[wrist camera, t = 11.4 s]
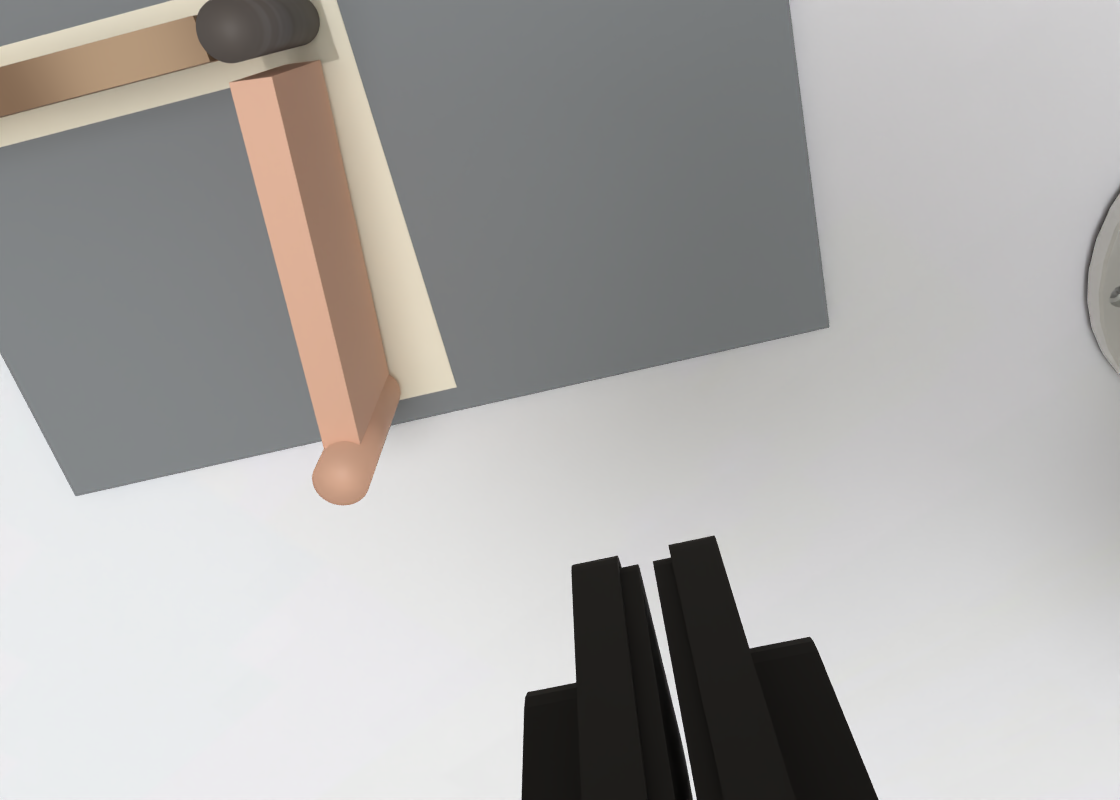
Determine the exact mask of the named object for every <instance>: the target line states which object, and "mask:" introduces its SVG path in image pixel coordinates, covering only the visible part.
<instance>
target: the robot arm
mask: <svg viewBox="0 0 1120 800" xmlns="http://www.w3.org/2000/svg"><path fill="white" fill-rule="evenodd" d="M1087 303H1088V309H1089V315H1090V321H1091V327H1092V330H1093V332H1094V335H1095V337H1096V340H1097V342H1098V344H1099V347H1100V349H1101V351H1102V353H1103V355H1104V356H1105V357H1106V359H1107V360H1108V361H1109V363H1110V364H1111V365H1112V367H1113V368H1114V369H1115V371H1116V372H1117V373H1118V374H1119V375H1120V193H1119V195H1118V197H1117V198H1116V200H1115V201H1114V203H1113V204H1112V206H1111V207H1110V210H1109V212H1108V214H1107V216H1106V219H1105V221H1104V223H1103V225H1102V228H1101V230H1100V232H1099V234H1098V237H1097V239H1096V243H1095V247H1094V251H1093V255H1092V259H1091V263H1090V267H1089V273H1088V293H1087ZM669 550H670V554H671V558H667V559H662V560H657V561H653V565H654V570H655V576H656V581H657V587H658V592H659V597H660V603H661V608H662V614H663V619H664V624H665V630H666V635H667V641H668V646H669V651H670V657H671V662H672V668H673V673H674V678H675V684H676V689H677V695H678V700H679V705H680V711H681V716H682V722H683V727H684V732H685V738H686V743H687V749H688V754H689V759H690V765H691V770H692V776H693V781H694V786H695V792H696V797H697V800H878V798H877V795H876V793H875V790H874V788H873V785H872V783H871V780H870V778H869V775H868V773H867V770H866V768H865V766H864V763H863V761H862V758H861V756H860V753H859V751H858V748H857V746H856V743H855V741H854V739H853V736H852V734H851V731H850V729H849V726H848V724H847V721H846V719H845V716H844V714H843V711H842V709H841V707H840V704H839V702H838V699H837V697H836V694H835V692H834V689H833V687H832V684H831V682H830V680H829V677H828V675H827V672H826V670H825V667H824V665H823V662H822V660H821V657H820V655H819V652H818V650H817V648H816V646H815V644H814V642H813V640H812V639H811V638H810V637H806V638H801V639H796V640H791V641H786V642H781V643H776V644H771V645H766V646H760V647H755V648H750V649H749V646H748V643H747V639H746V636H745V633H744V629H743V626H742V623H741V620H740V616H739V613H738V610H737V607H736V603H735V600H734V597H733V593H732V590H731V587H730V584H729V580H728V577H727V574H726V571H725V567H724V564H723V561H722V557H721V554H720V551H719V548H718V544H717V541H716V538H715V536H710V537H705V538H701V539H696V540H691V541H686V542H681V543H676V544H672V545H669ZM572 594H573V617H574V640H575V662H576V683H572V684H567V685H562V686H557V687H552V688H547V689H542V690H537V691H532V692H528V693H527V695H526V697H525V706H524V736H523V770H522V800H693V798H692V793H691V787H690V781H689V776H688V770H687V765H686V760H685V755H684V750H683V746H682V741H681V737H680V733H679V728H678V724H677V720H676V716H675V712H674V708H673V704H672V700H671V695H670V691H669V687H668V683H667V679H666V675H665V671H664V667H663V663H662V658H661V654H660V650H659V646H658V642H657V638H656V634H655V630H654V625H653V621H652V617H651V613H650V609H649V605H648V601H647V597H646V592H645V588H644V584H643V580H642V576H641V572H640V568H639V565H633V566H628V567H623V568H621V564H620V561H619V558H618V556H614V557H609V558H604V559H599V560H595V561H590V562H585V563H580V564H575V565H572Z"/></svg>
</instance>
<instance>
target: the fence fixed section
mask: <svg viewBox="0 0 1120 800" xmlns="http://www.w3.org/2000/svg"><path fill="white" fill-rule="evenodd" d="M319 26H320V19H319V14H318V12H317V9H316V8H315V6H314V5H313V3H312V2H311V1H310V0H209V1H208V2H206V3H205V4H204V5H203V6H202V7H201V9H200V10H199V12H198V15H193V16H189V17H185V18H182V19H178V20H174V21H170V22H167V23H163V24H159V25H155V26H152V27H148V28H144V29H140V30H137V31H133V32H129V33H125V34H122V35H118V36H114V37H111V38H107V39H103V40H99V41H96V42H92V43H88V44H84V45H81V46H77V47H73V48H69V49H66V50H62V51H58V52H54V53H51V54H47V55H43V56H39V57H36V58H32V59H28V60H24V61H21V62H17V63H13V64H10V65H6V66H2V67H0V118H2V117H6V116H10V115H14V114H17V113H21V112H25V111H29V110H33V109H37V108H40V107H44V106H48V105H52V104H56V103H59V102H63V101H67V100H71V99H75V98H78V97H82V96H86V95H90V94H94V93H98V92H101V91H105V90H109V89H113V88H117V87H120V86H124V85H128V84H132V83H136V82H139V81H143V80H147V79H151V78H155V77H159V76H162V75H166V74H170V73H174V72H178V71H181V70H185V69H189V68H193V67H197V66H200V65H204V64H208V63H212V62H216V61H221V62H225V63H238V62H242V61H246V60H250V59H253V58H257V57H261V56H265V55H269V54H272V53H276V52H280V51H284V50H287V49H291V48H295V47H299V46H303V45H306V44H308V43H310V42H311V41H312V40H313V39H314V38H315V37H316V35H317V33H318V31H319Z"/></svg>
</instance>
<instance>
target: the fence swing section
mask: <svg viewBox="0 0 1120 800" xmlns="http://www.w3.org/2000/svg"><path fill="white" fill-rule="evenodd" d="M229 85H230V89H231V93H232V97H233V101H234V104H235V108H236V112H237V116H238V120H239V124H240V127H241V131H242V135H243V139H244V143H245V147H246V151H247V154H248V158H249V162H250V166H251V170H252V174H253V177H254V181H255V185H256V189H257V193H258V197H259V201H260V204H261V208H262V212H263V216H264V220H265V224H266V227H267V231H268V235H269V239H270V243H271V247H272V251H273V254H274V258H275V262H276V266H277V270H278V274H279V278H280V281H281V285H282V289H283V293H284V297H285V301H286V304H287V308H288V312H289V316H290V320H291V324H292V328H293V331H294V335H295V339H296V343H297V347H298V351H299V354H300V358H301V362H302V366H303V370H304V374H305V378H306V381H307V385H308V389H309V393H310V397H311V401H312V404H313V408H314V412H315V416H316V420H317V424H318V428H319V431H320V435H321V439H322V443H323V447H324V450H323V452H322V454H321V456H320V458H319V460H318V463H317V465H316V467H315V469H314V471H313V475H312V481H313V485H314V488H315V490H316V491H317V493H318V494H319V495H320V496H321V497H322V498H323V499H325V500H326V501H328V502H330V503H333V504H336V505H350V504H354V503H356V502H358V501H360V500H361V499H362V498H363V497H364V496H365V495H366V493H367V491H368V489H369V486H370V483H371V480H372V477H373V474H374V471H375V469H376V466H377V463H378V460H379V457H380V454H381V451H382V448H383V446H384V443H385V440H386V437H387V434H388V431H389V428H390V426H391V423H392V420H393V417H394V414H395V411H396V408H397V405H398V403H399V400H400V395H401V391H400V387H399V384H398V382H397V381H396V380H395V378H394V377H392V376H391V375H390V374H389V371H388V367H387V362H386V358H385V353H384V349H383V344H382V339H381V335H380V330H379V326H378V321H377V317H376V312H375V307H374V303H373V298H372V294H371V289H370V285H369V280H368V275H367V271H366V266H365V262H364V257H363V253H362V248H361V244H360V239H359V234H358V230H357V225H356V221H355V216H354V212H353V207H352V202H351V198H350V193H349V189H348V184H347V180H346V175H345V170H344V166H343V161H342V157H341V152H340V148H339V143H338V139H337V134H336V129H335V125H334V120H333V116H332V111H331V107H330V102H329V97H328V93H327V88H326V84H325V79H324V75H323V70H322V65H321V61H320V60H315V61H308V62H300V63H293V64H286V65H282V66H279V67H276V68H273V69H270V70H267V71H263V72H260V73H257V74H254V75H251V76H248V77H245V78H242V79H238V80H235V81H232V82H229Z"/></svg>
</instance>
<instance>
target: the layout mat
mask: <svg viewBox="0 0 1120 800" xmlns="http://www.w3.org/2000/svg"><path fill="white" fill-rule="evenodd" d="M208 1H209V0H0V67H2V66H6V65H10V64H13V63H17V62H21V61H24V60H28V59H32V58H36V57H39V56H43V55H47V54H51V53H54V52H58V51H62V50H66V49H69V48H73V47H77V46H81V45H84V44H88V43H92V42H96V41H99V40H103V39H107V38H111V37H114V36H118V35H122V34H125V33H129V32H133V31H137V30H140V29H144V28H148V27H152V26H155V25H159V24H163V23H167V22H170V21H174V20H178V19H182V18H185V17H189V16H193V15H198V12H199V10H200V9H201V7H202V6H203V5H204V4H205V3H206V2H208ZM310 1H311V2H312V3H313V5H314V6H315V8H316V9H317V12H318V14H319V19H320V26H319V31H318V33H317V35H316V37H315V38H314V39H313V40H312V41H311V42H310V43H308V44H306V45H303V46H299V47H295V48H291V49H287V50H284V51H280V52H276V53H272V54H269V55H265V56H261V57H257V58H253V59H250V60H246V61H242V62H238V63H225V62H221V61H216V62H212V63H208V64H204V65H200V66H197V67H193V68H189V69H185V70H181V71H178V72H174V73H170V74H166V75H162V76H159V77H155V78H151V79H147V80H143V81H139V82H136V83H132V84H128V85H124V86H120V87H117V88H113V89H109V90H105V91H101V92H98V93H94V94H90V95H86V96H82V97H78V98H75V99H71V100H67V101H63V102H59V103H56V104H52V105H48V106H44V107H40V108H37V109H33V110H29V111H25V112H21V113H17V114H14V115H10V116H6V117H2V118H0V353H1V355H2V357H3V359H4V361H5V363H6V365H7V367H8V368H9V370H10V372H11V374H12V376H13V378H14V380H15V382H16V384H17V386H18V387H19V389H20V391H21V393H22V395H23V397H24V399H25V401H26V403H27V405H28V407H29V408H30V410H31V412H32V414H33V416H34V418H35V420H36V422H37V424H38V426H39V427H40V429H41V431H42V433H43V435H44V437H45V439H46V441H47V443H48V445H49V447H50V448H51V450H52V452H53V454H54V456H55V458H56V460H57V462H58V464H59V466H60V467H61V469H62V471H63V473H64V475H65V477H66V479H67V481H68V483H69V485H70V487H71V488H72V490H73V492H74V494H75V496H79V495H83V494H88V493H92V492H97V491H101V490H106V489H110V488H115V487H119V486H123V485H128V484H132V483H137V482H141V481H146V480H150V479H155V478H159V477H164V476H168V475H173V474H177V473H181V472H186V471H190V470H195V469H199V468H204V467H208V466H213V465H217V464H222V463H226V462H231V461H235V460H239V459H244V458H248V457H253V456H257V455H262V454H266V453H271V452H275V451H280V450H284V449H289V448H293V447H297V446H302V445H306V444H311V443H315V442H320V441H322V439H321V435H320V431H319V428H318V424H317V420H316V416H315V412H314V408H313V404H312V401H311V397H310V393H309V389H308V385H307V381H306V378H305V374H304V370H303V366H302V362H301V358H300V354H299V351H298V347H297V343H296V339H295V335H294V331H293V328H292V324H291V320H290V316H289V312H288V308H287V304H286V301H285V297H284V293H283V289H282V285H281V281H280V278H279V274H278V270H277V266H276V262H275V258H274V254H273V251H272V247H271V243H270V239H269V235H268V231H267V227H266V224H265V220H264V216H263V212H262V208H261V204H260V201H259V197H258V193H257V189H256V185H255V181H254V177H253V174H252V170H251V166H250V162H249V158H248V154H247V151H246V147H245V143H244V139H243V135H242V131H241V127H240V124H239V120H238V116H237V112H236V108H235V104H234V101H233V97H232V93H231V89H230V85H229V82H232V81H235V80H238V79H242V78H245V77H248V76H251V75H254V74H257V73H260V72H263V71H267V70H270V69H273V68H276V67H279V66H282V65H286V64H293V63H300V62H308V61H315V60H320V61H321V65H322V70H323V75H324V79H325V84H326V88H327V93H328V97H329V102H330V107H331V111H332V116H333V120H334V125H335V129H336V134H337V139H338V143H339V148H340V152H341V157H342V161H343V166H344V170H345V175H346V180H347V184H348V189H349V193H350V198H351V202H352V207H353V212H354V216H355V221H356V225H357V230H358V234H359V239H360V244H361V248H362V253H363V257H364V262H365V266H366V271H367V275H368V280H369V285H370V289H371V294H372V298H373V303H374V307H375V312H376V317H377V321H378V326H379V330H380V335H381V339H382V344H383V349H384V353H385V358H386V362H387V367H388V371H389V374H390V375H391V376H392V377H394V378H395V380H396V381H397V382H398V384H399V387H400V391H401V395H400V400H399V403H398V405H397V408H396V411H395V414H394V417H393V420H392V423H391V425H396V424H400V423H405V422H409V421H413V420H418V419H422V418H427V417H431V416H436V415H440V414H445V413H449V412H454V411H458V410H463V409H467V408H471V407H476V406H480V405H485V404H489V403H494V402H498V401H503V400H507V399H512V398H516V397H521V396H525V395H529V394H534V393H538V392H543V391H547V390H552V389H556V388H561V387H565V386H570V385H574V384H579V383H583V382H587V381H592V380H596V379H601V378H605V377H610V376H614V375H619V374H623V373H628V372H632V371H637V370H641V369H645V368H650V367H654V366H659V365H663V364H668V363H672V362H677V361H681V360H686V359H690V358H695V357H699V356H703V355H708V354H712V353H717V352H721V351H726V350H730V349H735V348H739V347H744V346H748V345H753V344H757V343H761V342H766V341H770V340H775V339H779V338H784V337H788V336H793V335H797V334H802V333H806V332H811V331H815V330H819V329H824V328H828V327H829V320H828V312H827V304H826V296H825V287H824V279H823V271H822V263H821V255H820V247H819V239H818V231H817V223H816V215H815V207H814V199H813V191H812V183H811V175H810V167H809V159H808V151H807V143H806V135H805V127H804V119H803V111H802V103H801V95H800V87H799V79H798V71H797V63H796V55H795V47H794V39H793V31H792V23H791V15H790V7H789V0H310Z"/></svg>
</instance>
